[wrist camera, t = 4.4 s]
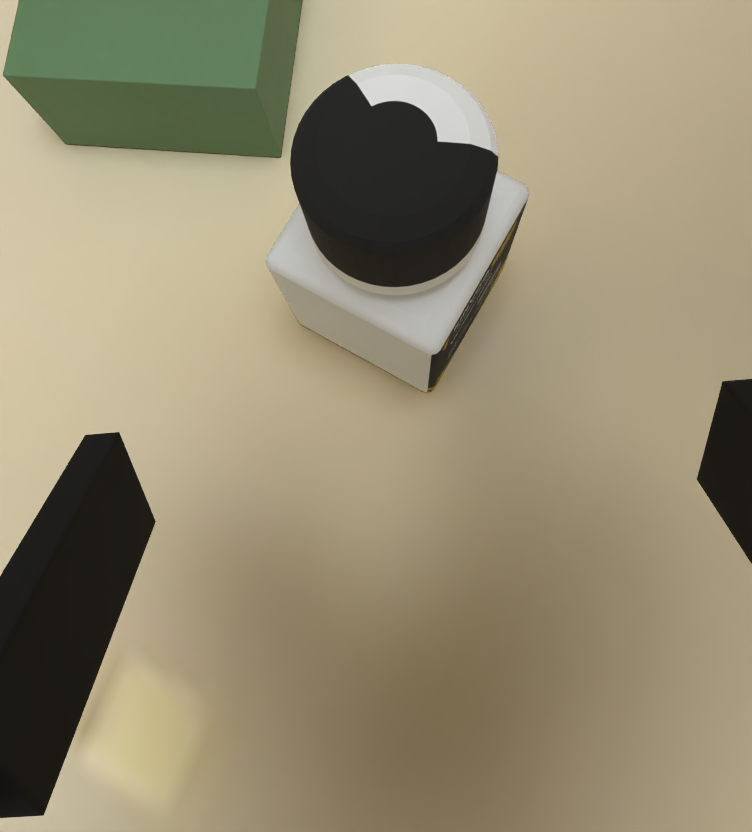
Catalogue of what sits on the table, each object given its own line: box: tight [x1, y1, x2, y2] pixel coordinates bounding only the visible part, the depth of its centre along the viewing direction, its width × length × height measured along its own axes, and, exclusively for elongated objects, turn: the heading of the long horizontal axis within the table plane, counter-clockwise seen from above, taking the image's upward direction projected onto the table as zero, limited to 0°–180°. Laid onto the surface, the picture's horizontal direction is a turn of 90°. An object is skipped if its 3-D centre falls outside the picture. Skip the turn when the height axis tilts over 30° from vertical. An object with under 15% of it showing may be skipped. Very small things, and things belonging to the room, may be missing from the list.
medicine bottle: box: [266, 64, 529, 392], centre depth 24 cm, size 7×7×12 cm
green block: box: [3, 0, 302, 157], centre depth 30 cm, size 11×11×5 cm
